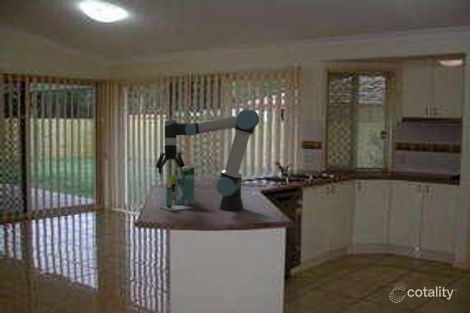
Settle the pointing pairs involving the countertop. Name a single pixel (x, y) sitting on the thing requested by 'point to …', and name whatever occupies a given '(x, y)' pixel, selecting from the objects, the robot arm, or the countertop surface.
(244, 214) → the countertop surface
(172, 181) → the spray bottle
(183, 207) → the writing board
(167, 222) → the countertop surface
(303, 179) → the countertop surface
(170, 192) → the teal and grey cylinder
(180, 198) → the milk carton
